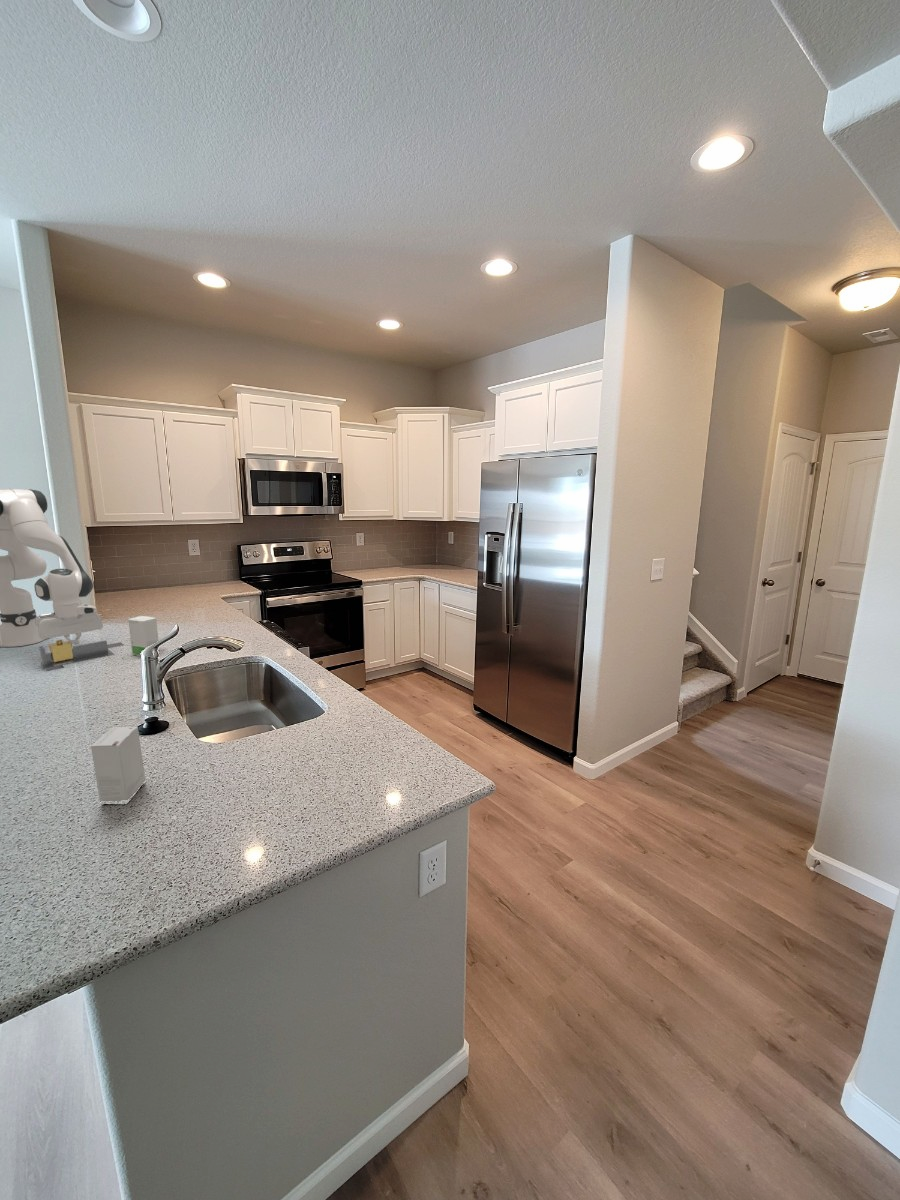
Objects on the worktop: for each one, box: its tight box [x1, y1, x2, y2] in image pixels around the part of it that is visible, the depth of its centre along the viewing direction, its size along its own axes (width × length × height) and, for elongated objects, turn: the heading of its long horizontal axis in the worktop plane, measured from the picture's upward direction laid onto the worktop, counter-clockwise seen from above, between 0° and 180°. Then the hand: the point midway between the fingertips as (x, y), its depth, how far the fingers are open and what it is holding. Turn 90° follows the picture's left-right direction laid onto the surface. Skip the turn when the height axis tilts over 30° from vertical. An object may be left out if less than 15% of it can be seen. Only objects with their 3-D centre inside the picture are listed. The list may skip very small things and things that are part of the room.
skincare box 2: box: [127, 615, 159, 657], centre depth 201 cm, size 8×7×16 cm
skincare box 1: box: [90, 726, 146, 803], centre depth 108 cm, size 8×6×15 cm
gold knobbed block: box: [48, 639, 73, 662], centre depth 190 cm, size 5×6×7 cm
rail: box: [38, 640, 115, 672], centre depth 194 cm, size 10×22×8 cm, turn 138°
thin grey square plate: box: [107, 642, 125, 649], centre depth 211 cm, size 6×7×1 cm
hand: (74, 644), depth 193 cm, fingers closed
